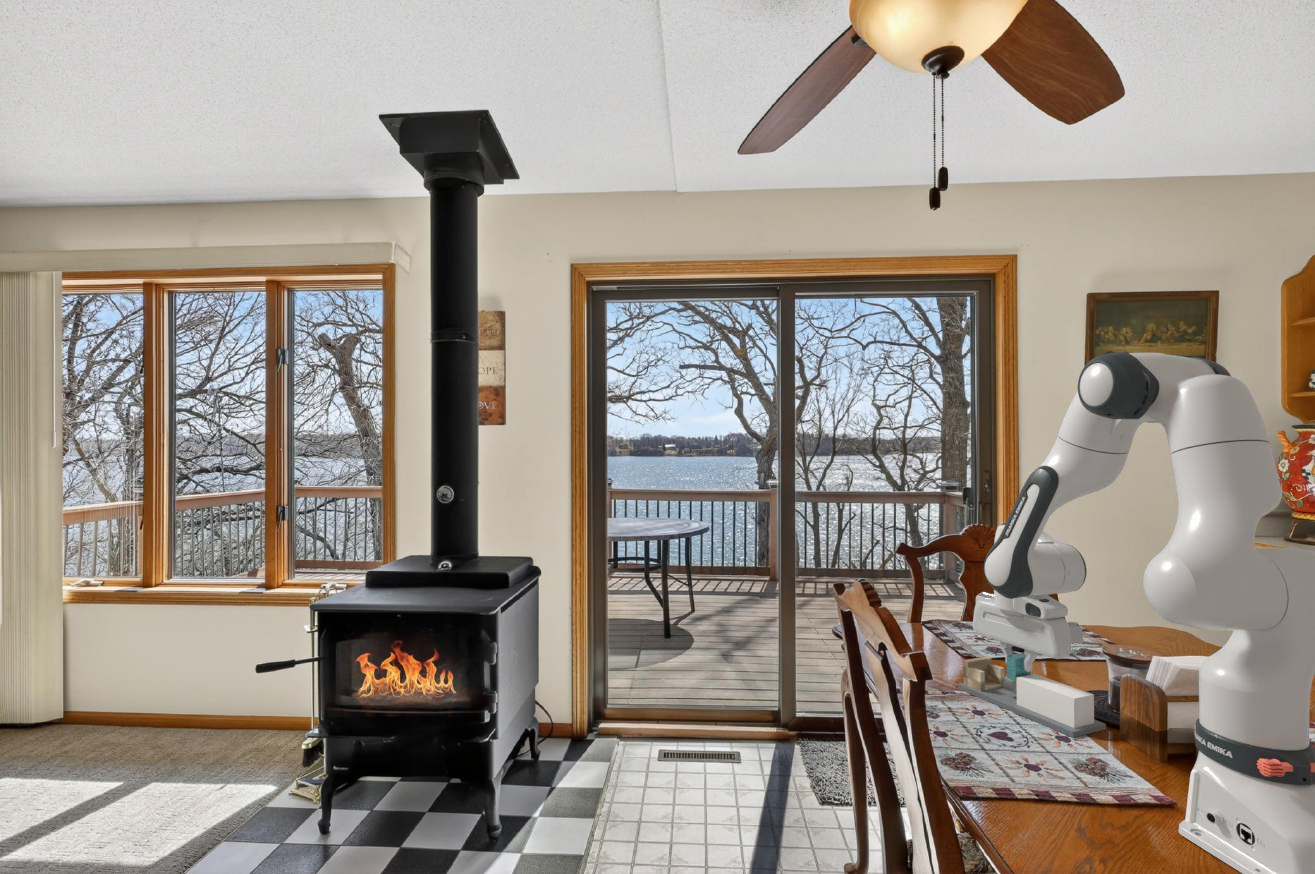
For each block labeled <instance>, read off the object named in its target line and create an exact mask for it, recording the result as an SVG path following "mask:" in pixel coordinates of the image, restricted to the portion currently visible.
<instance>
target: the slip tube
mask: <svg viewBox="0 0 1315 874" xmlns="http://www.w3.org/2000/svg"><path fill="white" fill-rule="evenodd" d="M1026 656H1027V655H1025V654H1024V652H1021V653H1015V654H1014V655H1009V656H1007V664H1006V676H1005V678H1004V680H1003V687H1004V689H1005V690H1007V691H1009V692H1012V693H1014V694H1017V680H1016V677H1022V676H1027V675H1032V671H1029V672H1027V671H1024V670H1021V669H1020V666H1021V665H1020V661H1024V660H1025V658H1026Z"/></svg>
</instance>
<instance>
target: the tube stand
mask: <svg viewBox="0 0 1315 874" xmlns="http://www.w3.org/2000/svg"><path fill="white" fill-rule="evenodd" d="M1016 680H1017V694H1014V693H1012V692H1009V691H1007V690H1005V689H1004V687H1001V688H995V689H990V690H985V691H979V690H976V689H974V688H971V687H969V686H967V685H964V684H963V682H961V683H958V684H957V687H958V688H957V689H958V690H960V691H963V692H965V693H968V694H970V695H972V696H975V697H977V698H980V699H982V700H984V701H986V702H988V703H991V704H992V705H996V706H998V707H1000V708H1003V709H1005V710H1006V711H1009V712H1012V713H1015V714H1017V715H1019V716H1021V717H1024V718H1026V719H1029V720H1030V721H1033V722H1035V723H1038V724H1040V725H1043V726H1045V727H1047V728H1050V729H1052V730H1055V731H1057V732H1059V733H1061V734H1064V735H1066V736H1069V737H1071V738H1077V737H1081V736H1085V735H1088V734H1092V733H1093V734H1094V733H1097V732H1101V731H1105V730H1107V724H1106V723H1105V722H1102V721H1099V720H1096V719H1095V694H1094V693H1091V692H1088V691H1084V690H1082V689H1079V688H1078V687H1077V688H1076V687H1073V686H1072V685H1068V684H1065V683H1062V682H1059V681H1057V680H1054V679H1051V678H1048V677H1045V676H1043V675H1039V674H1037V673H1033V674H1032V673H1031V675H1027V676H1022V677H1016Z"/></svg>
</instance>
